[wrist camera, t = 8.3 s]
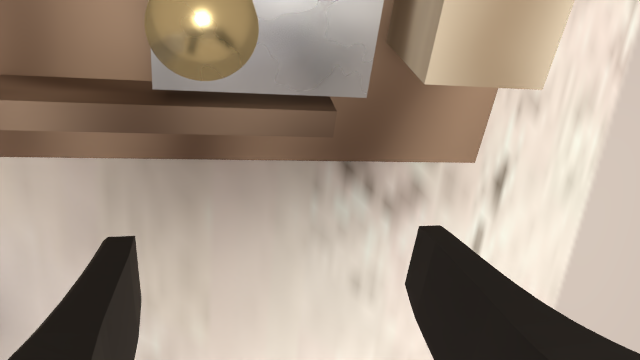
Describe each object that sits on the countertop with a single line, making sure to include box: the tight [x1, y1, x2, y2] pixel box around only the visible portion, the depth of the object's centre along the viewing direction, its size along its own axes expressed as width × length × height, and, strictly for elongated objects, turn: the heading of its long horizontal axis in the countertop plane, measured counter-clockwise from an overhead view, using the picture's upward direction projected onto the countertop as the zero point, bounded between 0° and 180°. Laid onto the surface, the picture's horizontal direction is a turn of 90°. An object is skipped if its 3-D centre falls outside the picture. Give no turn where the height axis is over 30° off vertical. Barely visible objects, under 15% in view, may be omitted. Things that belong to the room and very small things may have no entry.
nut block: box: [386, 0, 575, 90], centre depth 17 cm, size 4×4×4 cm
